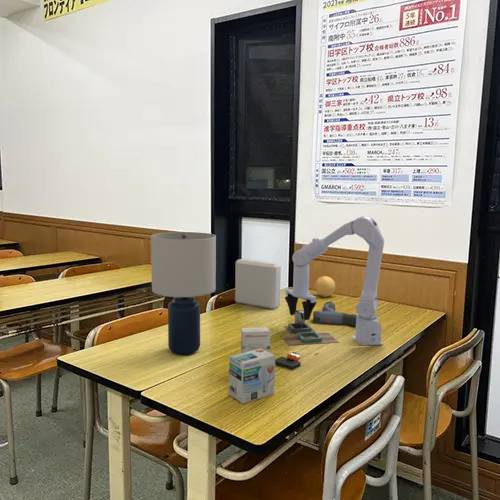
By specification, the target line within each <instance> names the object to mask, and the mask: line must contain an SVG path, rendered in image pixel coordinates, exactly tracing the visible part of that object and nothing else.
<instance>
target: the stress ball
mask: <svg viewBox="0 0 500 500" xmlns="http://www.w3.org/2000/svg"><path fill="white" fill-rule="evenodd" d="M314 290H315V292H316V293H317V294H318V295H320V297H323V298H328V297H330V296H332V295H333V293H334V292H335V290H336V282H335V280H334V279H332V278H331V277H330V276H325V275H324V276H320V277H318V278H317V279H316V281H315V283H314Z"/></svg>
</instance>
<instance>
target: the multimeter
mask: <svg viewBox="0 0 500 500" xmlns="http://www.w3.org/2000/svg"><path fill="white" fill-rule="evenodd" d="M318 354H319V352H317V353H315V354H313V355H312V356H316V355H318ZM300 357H301V356H300V353H298V352H294V351H292V352H291V353H287V356H286V357H285V356H279V357H277V358H275V366H277V367H282V368H283V369H287V370H291V371H294V370H295V369H298V368H299V367H301V364H302V362H300V361H299V359H300Z"/></svg>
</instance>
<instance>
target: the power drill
mask: <svg viewBox="0 0 500 500" xmlns="http://www.w3.org/2000/svg"><path fill="white" fill-rule="evenodd" d="M312 323H314V324H315V323H317V324H330V325H345V326H356V314H354V313H353V314H352V313H345V312H339V311H336V305H335V303H334V302H333V301H326V302H325V303H324V305H323V306H322V309H321V310H313V314H312Z"/></svg>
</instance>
